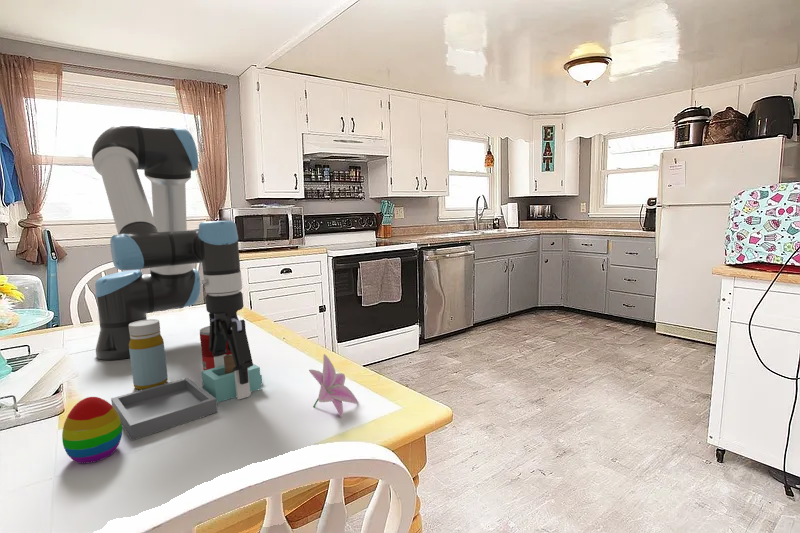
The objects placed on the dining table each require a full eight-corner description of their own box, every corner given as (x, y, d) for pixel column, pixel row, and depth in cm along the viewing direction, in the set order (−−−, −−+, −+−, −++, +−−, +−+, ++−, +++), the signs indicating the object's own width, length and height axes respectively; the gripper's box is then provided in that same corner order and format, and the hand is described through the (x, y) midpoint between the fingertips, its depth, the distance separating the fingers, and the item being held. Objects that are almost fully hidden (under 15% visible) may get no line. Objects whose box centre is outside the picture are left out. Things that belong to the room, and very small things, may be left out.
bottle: (174, 380, 107) (168, 319, 105) (150, 392, 100) (142, 327, 98) (152, 378, 109) (145, 318, 107) (126, 389, 103) (118, 325, 101)
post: (225, 390, 100) (221, 356, 99) (236, 387, 101) (232, 353, 100) (229, 394, 98) (226, 358, 97) (240, 390, 100) (237, 355, 99)
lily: (310, 434, 81) (333, 391, 80) (280, 393, 89) (300, 353, 87) (356, 428, 90) (377, 389, 89) (325, 391, 98) (345, 355, 96)
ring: (203, 392, 99) (201, 371, 98) (253, 378, 107) (251, 357, 106) (216, 402, 94) (214, 380, 93) (267, 386, 101) (266, 365, 101)
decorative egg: (52, 466, 72) (44, 407, 71) (97, 440, 80) (90, 386, 79) (94, 471, 70) (86, 410, 69) (135, 444, 78) (129, 389, 77)
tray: (112, 411, 91) (111, 398, 91) (189, 389, 101) (188, 377, 101) (132, 440, 79) (130, 425, 79) (217, 412, 89) (216, 398, 89)
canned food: (225, 377, 108) (221, 332, 107) (196, 375, 110) (192, 332, 108) (243, 365, 116) (239, 324, 114) (215, 364, 117) (211, 323, 116)
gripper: (187, 289, 103) (197, 381, 106) (227, 302, 86) (237, 411, 89) (220, 284, 108) (228, 372, 111) (264, 296, 91) (272, 399, 94)
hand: (232, 389), depth 100 cm, fingers open, 11 cm apart
